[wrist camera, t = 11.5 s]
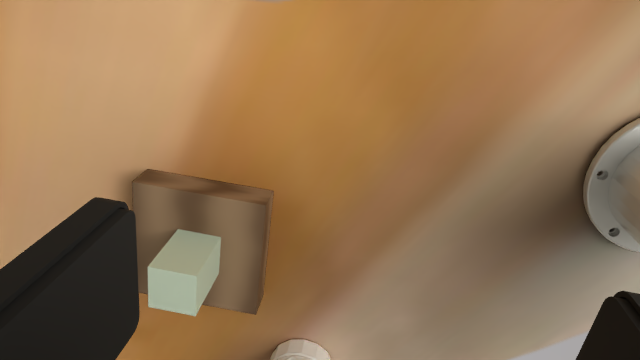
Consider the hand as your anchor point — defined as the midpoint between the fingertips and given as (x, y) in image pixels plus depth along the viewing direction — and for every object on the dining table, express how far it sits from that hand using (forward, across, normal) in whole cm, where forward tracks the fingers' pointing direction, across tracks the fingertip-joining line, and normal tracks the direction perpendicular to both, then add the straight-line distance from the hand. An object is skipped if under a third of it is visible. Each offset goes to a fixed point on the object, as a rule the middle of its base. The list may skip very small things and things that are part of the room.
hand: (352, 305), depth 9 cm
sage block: (+27, +13, +19) cm, 36 cm away
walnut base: (+30, +13, +19) cm, 38 cm away
